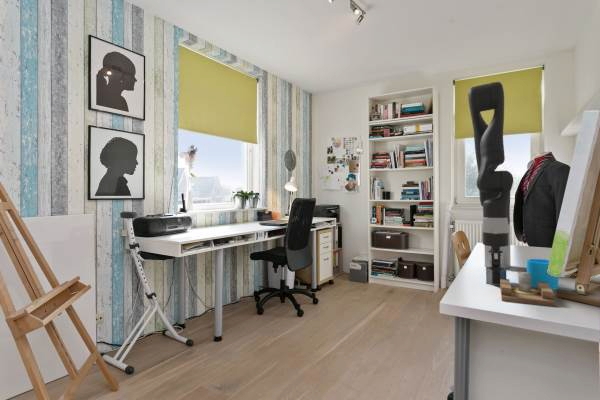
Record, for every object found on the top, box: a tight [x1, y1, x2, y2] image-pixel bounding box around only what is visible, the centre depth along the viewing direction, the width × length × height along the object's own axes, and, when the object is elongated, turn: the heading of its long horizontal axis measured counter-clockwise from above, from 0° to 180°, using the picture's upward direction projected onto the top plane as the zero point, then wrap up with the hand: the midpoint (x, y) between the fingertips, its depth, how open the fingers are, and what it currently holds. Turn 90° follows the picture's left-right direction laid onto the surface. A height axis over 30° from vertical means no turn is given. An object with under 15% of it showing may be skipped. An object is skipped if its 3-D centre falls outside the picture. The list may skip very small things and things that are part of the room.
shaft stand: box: [499, 271, 556, 307], centre depth 101 cm, size 16×12×6 cm
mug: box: [526, 258, 560, 291], centre depth 112 cm, size 12×8×8 cm
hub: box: [485, 266, 507, 287], centre depth 115 cm, size 6×6×5 cm
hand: (496, 281), depth 115 cm, fingers open, 6 cm apart
